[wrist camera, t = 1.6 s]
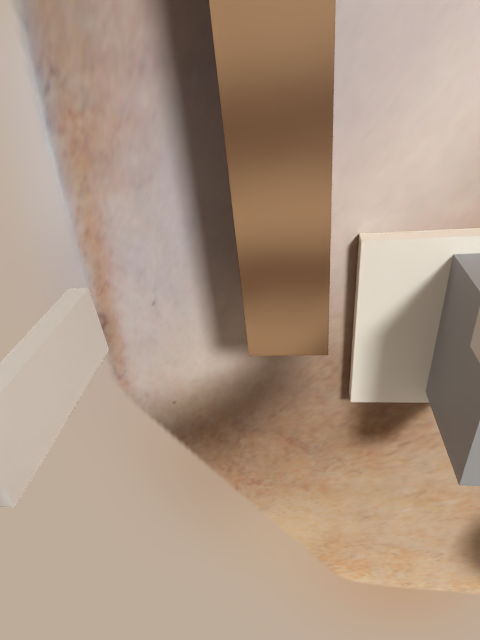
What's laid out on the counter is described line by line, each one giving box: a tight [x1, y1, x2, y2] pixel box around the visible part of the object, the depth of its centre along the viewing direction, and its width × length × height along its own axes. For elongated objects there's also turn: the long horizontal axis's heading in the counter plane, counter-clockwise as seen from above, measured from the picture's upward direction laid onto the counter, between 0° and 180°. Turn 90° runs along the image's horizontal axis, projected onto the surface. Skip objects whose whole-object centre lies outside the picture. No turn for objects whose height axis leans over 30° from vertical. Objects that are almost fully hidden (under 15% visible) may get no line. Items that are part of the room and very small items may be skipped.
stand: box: [349, 228, 480, 486], centre depth 22 cm, size 12×12×8 cm
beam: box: [209, 0, 335, 356], centre depth 18 cm, size 22×4×6 cm, turn 6°
